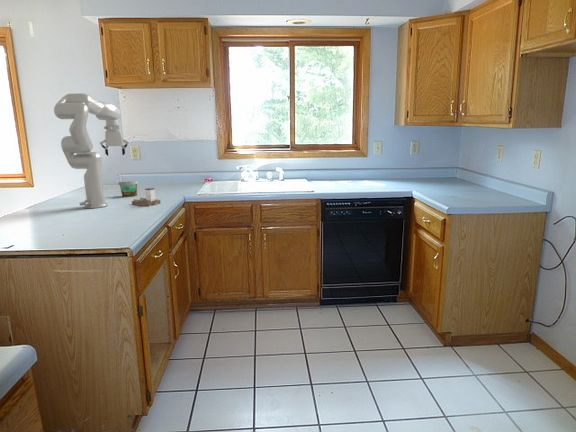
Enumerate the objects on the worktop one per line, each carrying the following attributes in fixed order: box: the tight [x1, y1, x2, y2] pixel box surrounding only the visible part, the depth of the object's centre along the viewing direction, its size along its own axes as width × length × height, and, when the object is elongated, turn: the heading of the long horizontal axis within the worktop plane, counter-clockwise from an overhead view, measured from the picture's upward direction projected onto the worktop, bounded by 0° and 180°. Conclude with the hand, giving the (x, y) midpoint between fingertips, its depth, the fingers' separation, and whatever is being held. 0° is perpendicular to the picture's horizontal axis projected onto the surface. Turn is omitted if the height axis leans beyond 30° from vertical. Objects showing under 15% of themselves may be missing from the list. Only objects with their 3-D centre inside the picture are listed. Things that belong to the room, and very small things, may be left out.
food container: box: [118, 180, 139, 198], centre depth 276 cm, size 12×6×10 cm, turn 105°
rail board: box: [131, 197, 162, 207], centre depth 250 cm, size 9×14×3 cm, turn 63°
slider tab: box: [144, 187, 157, 201], centre depth 247 cm, size 4×4×7 cm
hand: (115, 155), depth 271 cm, fingers open, 9 cm apart
